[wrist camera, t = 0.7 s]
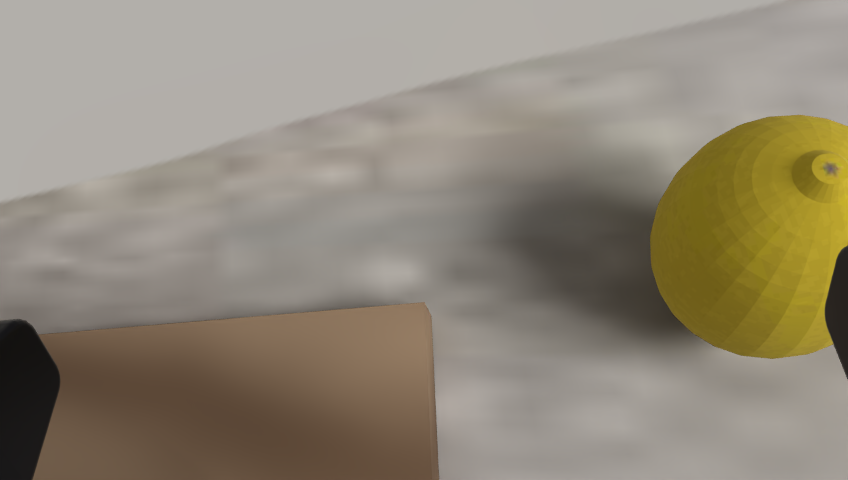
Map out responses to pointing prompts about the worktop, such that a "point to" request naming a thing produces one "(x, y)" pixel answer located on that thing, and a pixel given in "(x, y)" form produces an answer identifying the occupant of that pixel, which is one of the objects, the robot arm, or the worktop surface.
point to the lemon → (756, 236)
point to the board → (247, 399)
